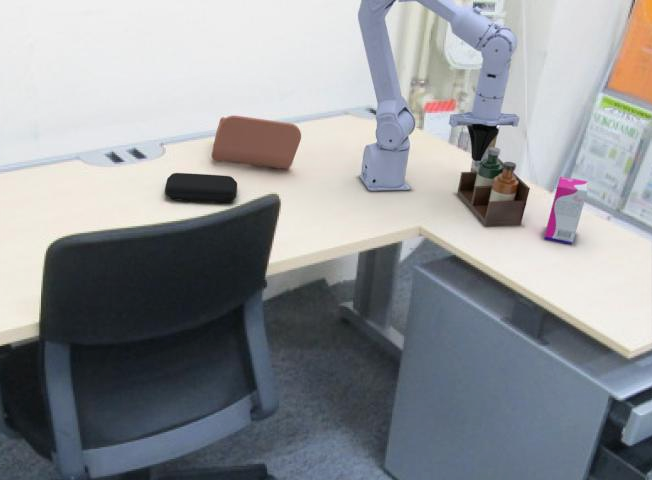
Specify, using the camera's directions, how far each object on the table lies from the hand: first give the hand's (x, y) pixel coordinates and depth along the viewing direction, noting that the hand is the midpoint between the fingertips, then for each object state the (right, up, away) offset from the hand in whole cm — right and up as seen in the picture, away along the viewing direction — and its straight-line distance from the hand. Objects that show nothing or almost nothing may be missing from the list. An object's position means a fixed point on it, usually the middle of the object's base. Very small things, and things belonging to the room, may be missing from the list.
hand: (476, 159), depth 186 cm
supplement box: (+16, -17, -5) cm, 24 cm away
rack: (+3, -10, +3) cm, 11 cm away
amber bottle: (+5, -11, 0) cm, 12 cm away
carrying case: (-58, -8, 0) cm, 58 cm away
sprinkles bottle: (+4, -1, +15) cm, 16 cm away
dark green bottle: (+3, -6, +6) cm, 9 cm away
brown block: (-47, +4, +17) cm, 50 cm away
